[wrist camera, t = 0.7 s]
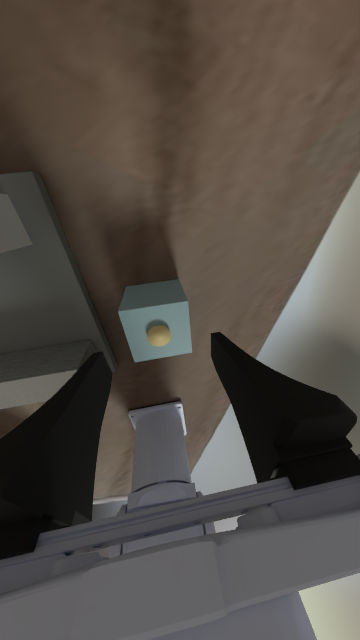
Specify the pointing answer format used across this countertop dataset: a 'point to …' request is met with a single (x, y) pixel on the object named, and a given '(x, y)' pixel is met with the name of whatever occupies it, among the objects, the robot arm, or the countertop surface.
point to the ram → (39, 372)
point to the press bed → (40, 274)
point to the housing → (156, 320)
